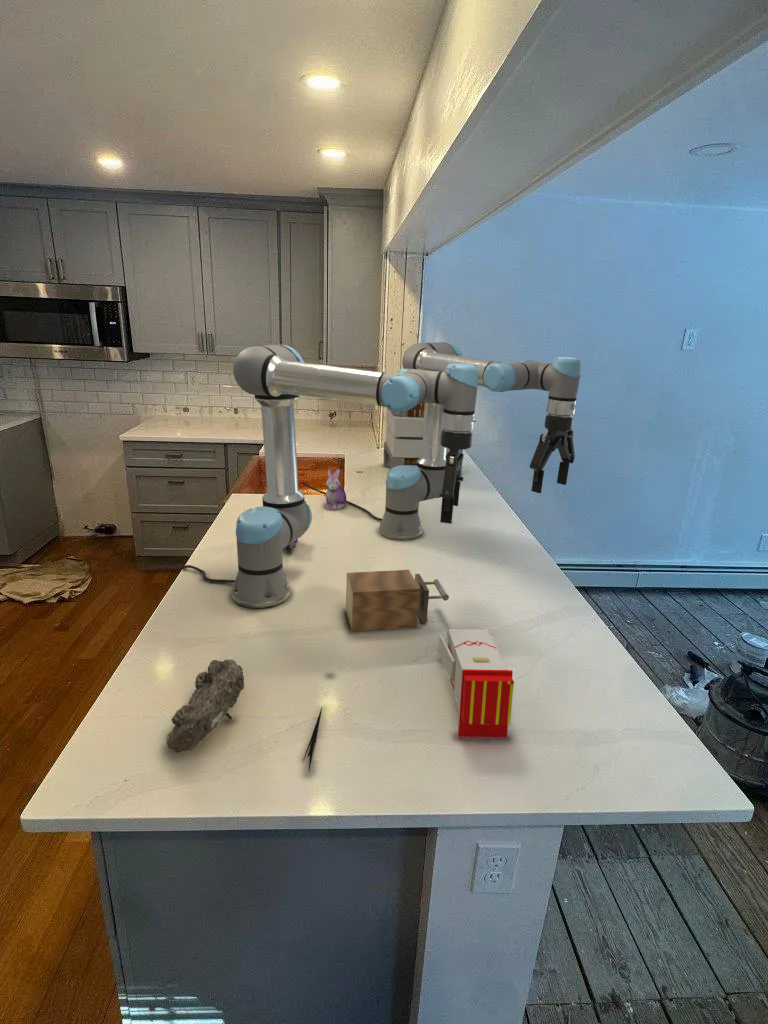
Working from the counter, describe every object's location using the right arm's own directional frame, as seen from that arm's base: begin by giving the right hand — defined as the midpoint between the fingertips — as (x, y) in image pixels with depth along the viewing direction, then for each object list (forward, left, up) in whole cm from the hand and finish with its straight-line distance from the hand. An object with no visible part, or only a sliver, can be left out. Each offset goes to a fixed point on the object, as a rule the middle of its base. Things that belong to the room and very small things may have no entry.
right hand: (549, 487), depth 165 cm
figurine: (-84, -15, -28) cm, 90 cm away
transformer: (-101, +48, -28) cm, 115 cm away
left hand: (-3, -39, -1) cm, 39 cm away
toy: (+26, -60, -28) cm, 71 cm away
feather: (+14, -90, -28) cm, 95 cm away
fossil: (+1, -105, -28) cm, 109 cm away
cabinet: (-8, -56, -28) cm, 63 cm away
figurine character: (-61, -51, -28) cm, 84 cm away
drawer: (-5, -51, -27) cm, 58 cm away
